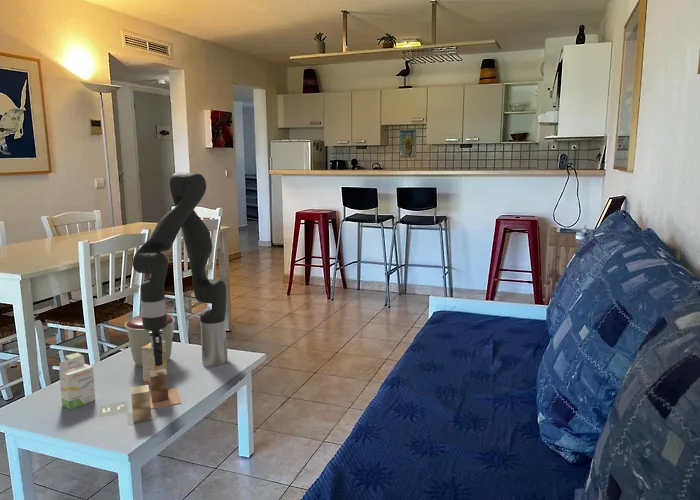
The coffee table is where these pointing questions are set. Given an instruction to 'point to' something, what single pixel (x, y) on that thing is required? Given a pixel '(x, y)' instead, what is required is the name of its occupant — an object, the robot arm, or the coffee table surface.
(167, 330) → the canister
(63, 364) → the ink box
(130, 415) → the code tile
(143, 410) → the oak block
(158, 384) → the walnut block
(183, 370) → the coffee table surface
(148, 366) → the supplement box
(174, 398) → the coaster
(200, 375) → the coffee table surface
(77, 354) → the skincare box
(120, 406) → the code tile
